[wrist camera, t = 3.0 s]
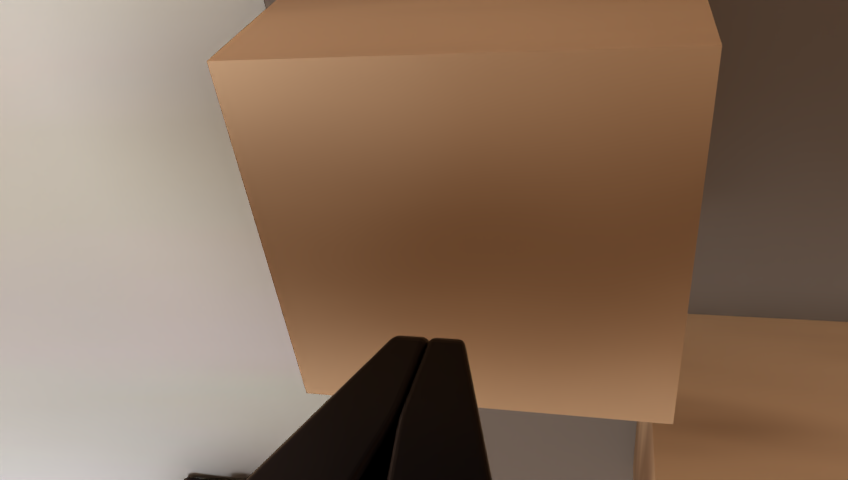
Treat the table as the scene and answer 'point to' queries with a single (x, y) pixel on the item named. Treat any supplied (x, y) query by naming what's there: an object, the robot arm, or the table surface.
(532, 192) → the plain block
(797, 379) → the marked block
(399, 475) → the robot arm
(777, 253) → the mat
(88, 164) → the table surface
